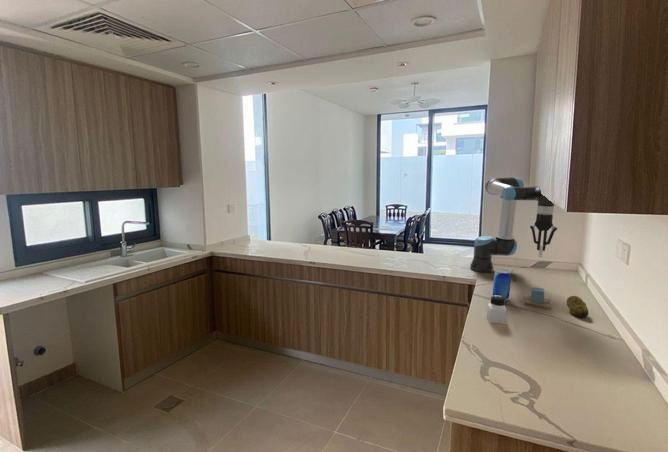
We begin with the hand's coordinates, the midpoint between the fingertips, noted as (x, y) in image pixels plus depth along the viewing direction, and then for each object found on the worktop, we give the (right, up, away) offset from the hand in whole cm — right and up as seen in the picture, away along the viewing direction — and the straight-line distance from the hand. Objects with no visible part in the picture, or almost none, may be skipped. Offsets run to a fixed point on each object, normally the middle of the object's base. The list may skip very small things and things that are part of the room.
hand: (540, 256), depth 195 cm
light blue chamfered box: (-3, -24, -2) cm, 24 cm away
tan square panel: (-3, -25, -2) cm, 25 cm away
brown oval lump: (+9, -28, -15) cm, 33 cm away
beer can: (-20, -24, +4) cm, 32 cm away
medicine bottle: (-35, -29, -23) cm, 51 cm away
